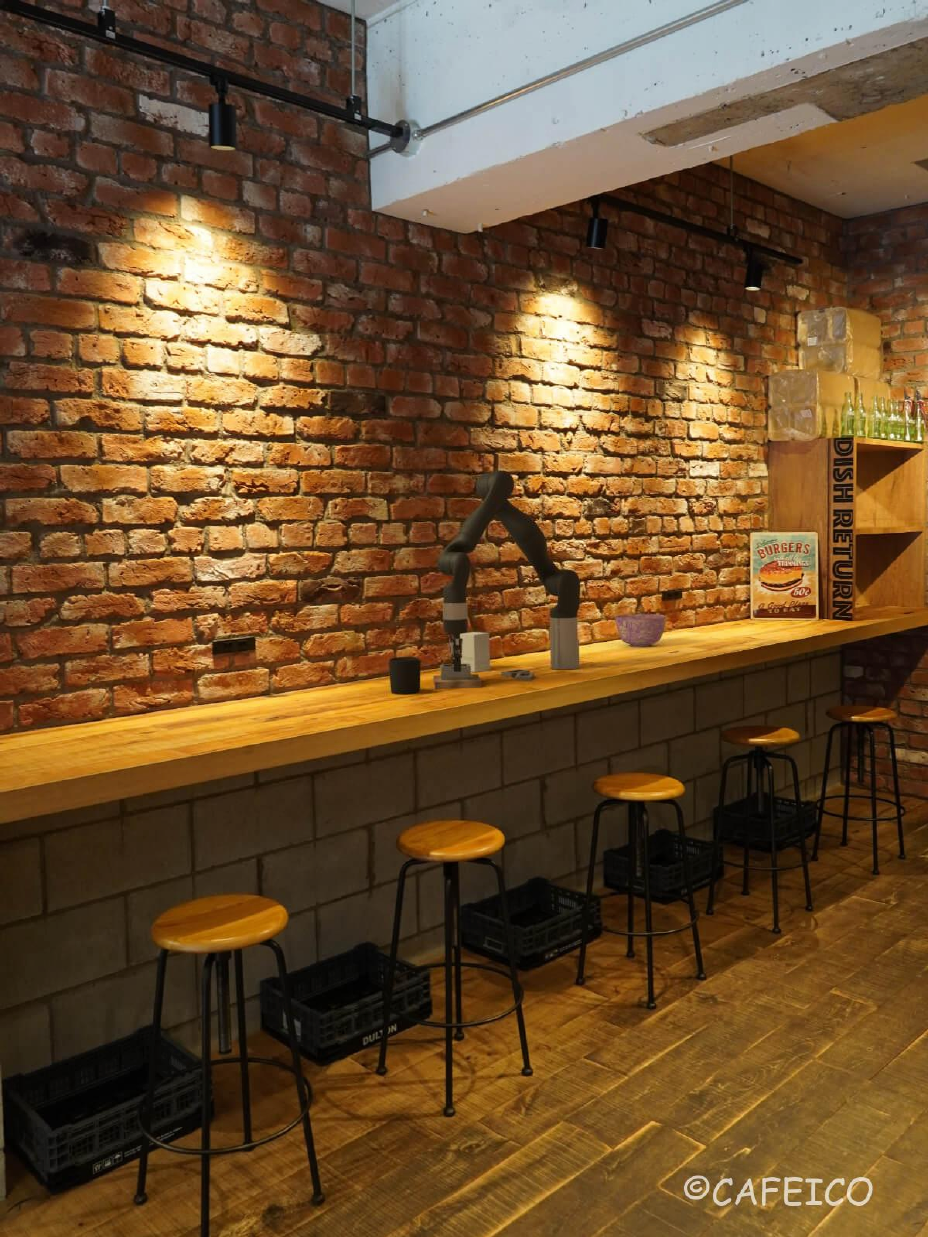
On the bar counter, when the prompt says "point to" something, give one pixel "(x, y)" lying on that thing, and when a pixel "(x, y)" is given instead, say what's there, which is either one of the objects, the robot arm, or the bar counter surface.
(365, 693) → the bar counter surface
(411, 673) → the pen holder
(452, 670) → the end link
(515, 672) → the slack link
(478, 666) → the supplement box
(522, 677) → the slack link
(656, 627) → the purple bowl
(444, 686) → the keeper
